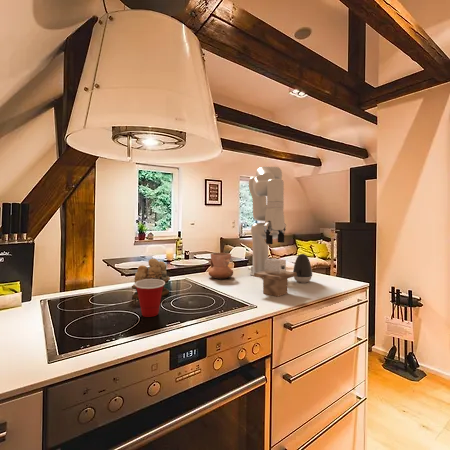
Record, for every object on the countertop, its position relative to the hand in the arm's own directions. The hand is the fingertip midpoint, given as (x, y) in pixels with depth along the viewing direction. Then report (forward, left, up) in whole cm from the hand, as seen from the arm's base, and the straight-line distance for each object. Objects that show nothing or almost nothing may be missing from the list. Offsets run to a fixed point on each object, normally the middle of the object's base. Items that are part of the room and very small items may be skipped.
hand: (275, 243), depth 131 cm
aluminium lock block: (0, 0, -14) cm, 14 cm away
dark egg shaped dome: (-2, +30, -23) cm, 38 cm away
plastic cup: (-18, -55, -23) cm, 63 cm away
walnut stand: (0, 0, -23) cm, 23 cm away
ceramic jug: (-43, +8, -24) cm, 49 cm away
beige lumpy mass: (-40, -40, -24) cm, 61 cm away
